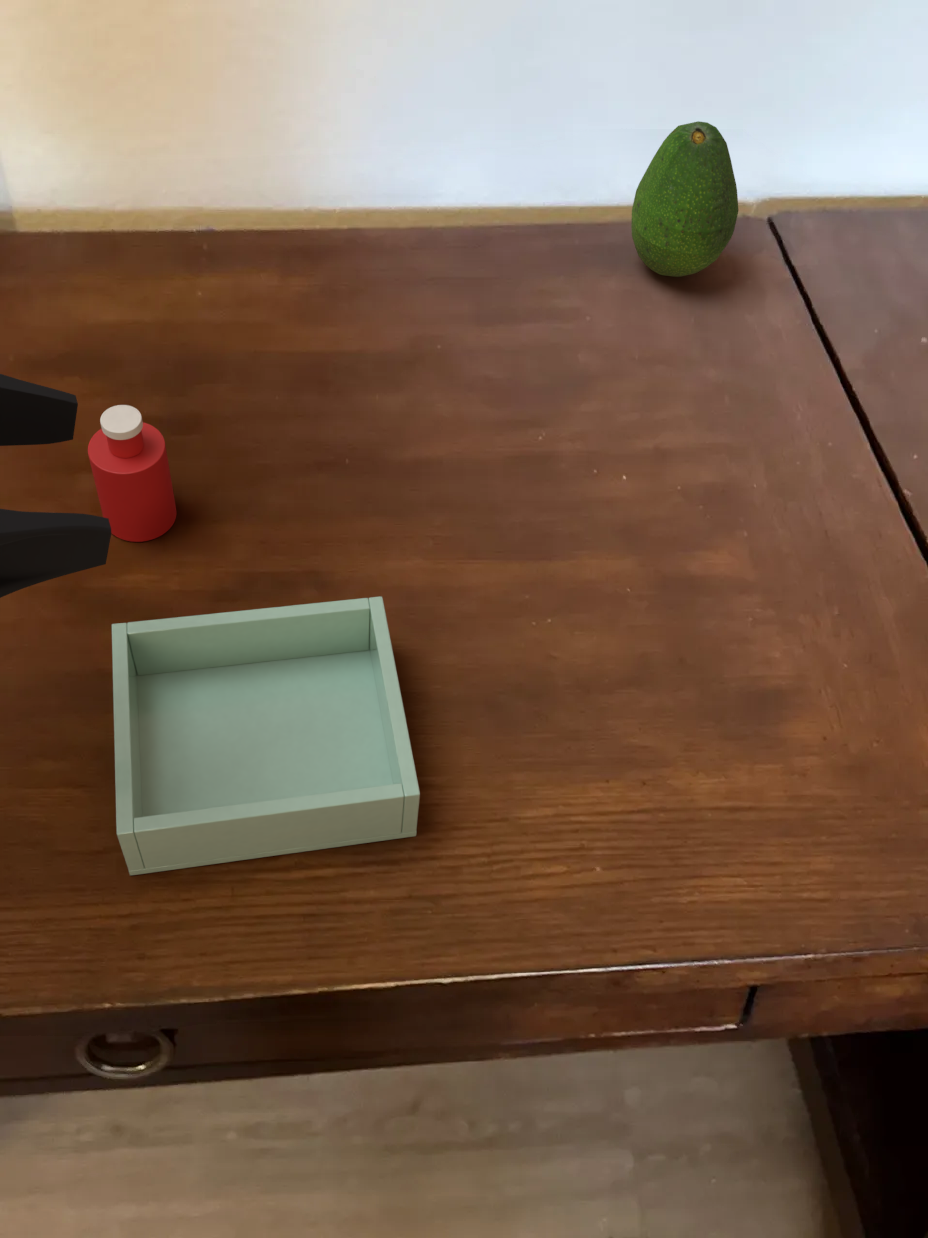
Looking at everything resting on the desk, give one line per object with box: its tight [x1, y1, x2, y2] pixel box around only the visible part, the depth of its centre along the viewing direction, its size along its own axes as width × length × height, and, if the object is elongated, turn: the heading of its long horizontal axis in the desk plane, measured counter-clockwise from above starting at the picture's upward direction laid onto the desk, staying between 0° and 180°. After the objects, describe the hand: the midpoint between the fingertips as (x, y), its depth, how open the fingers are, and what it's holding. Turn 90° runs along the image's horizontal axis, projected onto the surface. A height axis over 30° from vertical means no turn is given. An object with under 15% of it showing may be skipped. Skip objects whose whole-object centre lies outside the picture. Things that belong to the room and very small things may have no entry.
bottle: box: [87, 404, 178, 543], centre depth 72 cm, size 4×4×8 cm
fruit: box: [630, 120, 740, 278], centre depth 90 cm, size 8×8×12 cm
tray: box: [111, 595, 421, 876], centre depth 64 cm, size 15×13×4 cm
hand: (90, 476), depth 51 cm, fingers open, 7 cm apart
